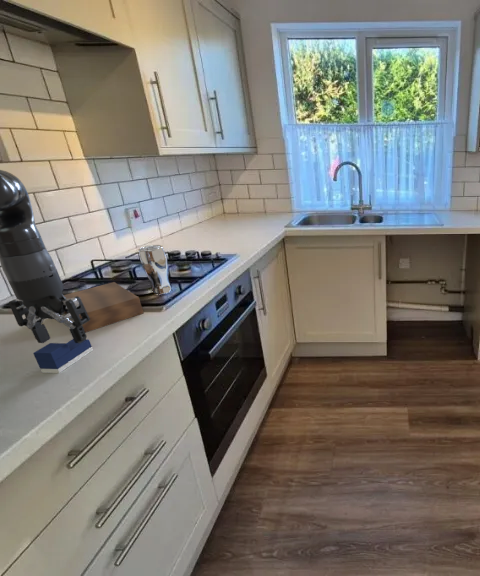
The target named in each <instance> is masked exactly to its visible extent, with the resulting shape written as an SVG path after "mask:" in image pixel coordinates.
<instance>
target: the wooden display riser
mask: <svg viewBox="0 0 480 576" xmlns="http://www.w3.org/2000/svg"><path fill="white" fill-rule="evenodd" d="M63 296H64V297H65V298H66V299H72V298H74V297H76V296H78V297H80V299H81V301H82V303H83V305H84V307H85V309H86V312H87V314H88V316H89V318H90V321H88V322H86V323H85V324H83V325H82V326H83V328H84V331H85V333H88V332H92V331H94V330H97V329H100V328H103V327H105V326H110V325H113V324H115V323H118V322H121V321H122V322H123V321H125V320H127V319H130V318H134V317H137V316H140V315H142V314H144V312H145V311H144V309H143V307H142V303H141V300H140V297H139V296H137V295H136V294H134V293H132V292H131V291H129V290H127V288H124V287H123V286H121V285H119V284H118V283H116V282H115V281H113V282H109V283H105V284H101V285H97V286H94V287H90V288H86V289H82V290H78V291H74V292H70V293H67V294H63ZM66 314H67V313H66V312H65V313H64V315H66ZM79 317H80V319H81V318H82V317H81V315H80V314H79Z"/></svg>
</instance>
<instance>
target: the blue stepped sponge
mask: <svg viewBox="0 0 480 576" xmlns="http://www.w3.org/2000/svg"><path fill="white" fill-rule="evenodd" d="M92 351H94V348H93V346H92V344H91V340H90V338H86V340H84V341H83V342H81V343H75V342H74V339H73V338H72V339H70V340H69V341H68V342H49V343H47V344H45V346H42V347H41V348H39V349H37V350H36V351H34V352H33V353H32V354H33V355H34V358H35V360H36V362H37V365H38V367H39V369H40V371H41V373H42V374H61V373H62V372H63V371H64V370H66V369H68V368H69V367H71V366H72V365H73V364H75V363H76V362H78V361H79V360H81V359H83V358H84V357H85V356H87V355H88V354H90V353H91V352H92Z"/></svg>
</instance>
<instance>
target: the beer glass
mask: <svg viewBox="0 0 480 576" xmlns="http://www.w3.org/2000/svg"><path fill="white" fill-rule="evenodd" d="M137 251H138V255H139V260H140V263H141V266H142V269H143V272H144V273H145V274H146V277H147V279H148V281H149V283H150V288H151V292H152V291H153V292H154V293H155V294H158V295H159V294H166V295H168V294H167V293H169V294H171V293H173V292H174V287H173V285H172V283H171V279H170V274H169V272H170V271H169V263H168V258H167V255H166V251H165V250H164V247H163V245H162V244H151V245H145V246H141V247H139V248H138V249H137ZM172 291H173V292H172ZM170 292H171V293H170Z"/></svg>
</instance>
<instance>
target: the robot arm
mask: <svg viewBox="0 0 480 576" xmlns="http://www.w3.org/2000/svg"><path fill="white" fill-rule="evenodd" d="M0 267H1V270H2V271H3V274H4V275H5V277H6V279H7V282H8V284H9V286H10V288H11V290H12V292H13V294H14V296H15V299H12V300H10V301H9V302H8V305H9V307H10V309H11V312H12V314H13V316H14V319H15V321H16V324H17V325H18V326H19V327H24V326H25V327H26V328H27V329H28V330H31V333H32V334H33V336H34V338H35V340H36V341H37V343H38V344H45V343H46V342H48V341H50V340H51V336H50V333H49V331H48V330H47V327H46V325H45V323H44V320H47V319H49V320H55V321H57V322H58V323H60V324H64V325H65V326H66V327H67V328H68V329H69V332H70V335H71V338H72V339H74V342H75V343H81V342H83V341H84V340H86V339H87V332H85V331H84V328H83V326H82V325H83V324H85V323H86V322H88V321H90V318H89V316H88V314H87V312H86V309H85V307H84V305H83V303H82V301H81V299H80V297H78V296H76V297H74V298H72V299H66V298H65V297H64V296H63V295H64V294H63V291H64V289H65V286H64V283H63V281H62V278H61V276H60V274H59V271H58V269H57V267H56V265H55V262H54V259H53V257H52V255H51V254H50V252H49V251H48V250H47V247H46V245H45V242H44V240H43V237H42V235H41V233H40V231H39V229H38V227H37V225H36V220H35V216H34V211H33V205H32V202H31V199H30V196H29V193H28V190H27V188H26V186H25V185H24V183H23V182H22V181H21V180H20V179H19V178H18V177H17V176H16V175H15V174H13V173H12V172H9V171H6V170H3V169H0ZM65 312H66V314H65ZM79 314H80V315H81V317H82V318H81V319H80V317H79ZM23 316H24V317H25V318H24V317H23ZM70 319H71V320H72V321H71V320H70Z"/></svg>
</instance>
